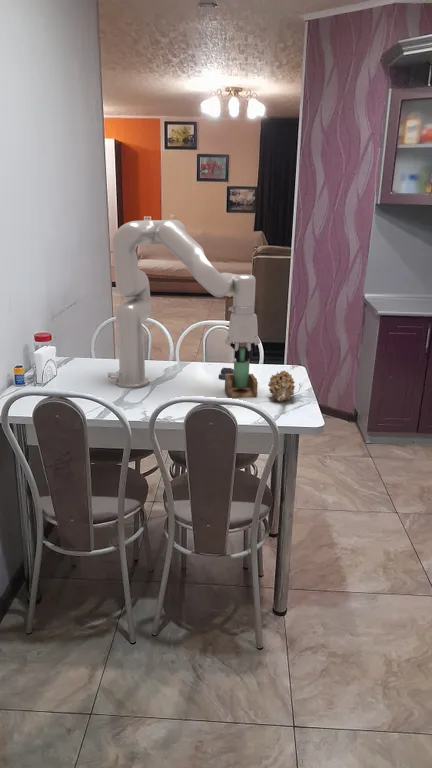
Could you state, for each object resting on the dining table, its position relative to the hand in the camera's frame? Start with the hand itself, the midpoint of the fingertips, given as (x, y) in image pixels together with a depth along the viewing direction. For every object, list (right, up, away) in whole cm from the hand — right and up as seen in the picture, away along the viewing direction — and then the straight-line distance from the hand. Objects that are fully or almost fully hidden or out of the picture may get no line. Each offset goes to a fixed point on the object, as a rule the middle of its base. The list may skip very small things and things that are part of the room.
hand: (241, 360), depth 199 cm
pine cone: (+14, -15, -5) cm, 21 cm away
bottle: (0, -9, +3) cm, 9 cm away
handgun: (0, -6, +23) cm, 24 cm away
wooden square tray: (0, -12, +4) cm, 13 cm away
